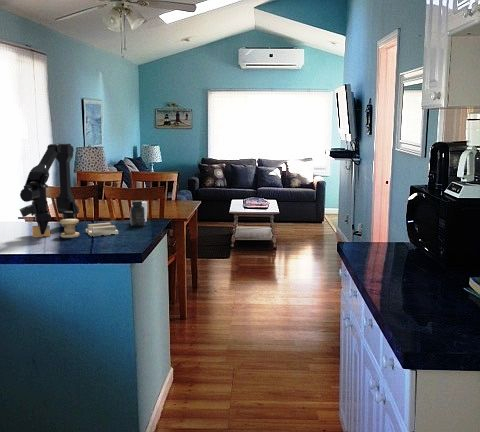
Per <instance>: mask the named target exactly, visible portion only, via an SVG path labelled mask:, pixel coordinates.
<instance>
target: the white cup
mask: <svg viewBox="0 0 480 432" xmlns="http://www.w3.org/2000/svg"><path fill="white" fill-rule="evenodd" d="M141 201H142V206H143V207H144V211H145V223H146V222H147V220H148V219H147V218H148V201H146V200H141ZM132 206H133V205H132V201H131V207H132Z"/></svg>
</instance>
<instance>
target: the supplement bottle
mask: <svg viewBox="0 0 480 432" xmlns="http://www.w3.org/2000/svg"><path fill="white" fill-rule="evenodd" d="M142 201H143V200H132V201H131V202H132V204H131V207H130V209H129V213H130V216H129V217H130V226H132V227H143V226H145V225H146V222H145V211H144V207H143V206H142ZM132 205H133V206H132Z"/></svg>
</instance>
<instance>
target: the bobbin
mask: <svg viewBox="0 0 480 432" xmlns="http://www.w3.org/2000/svg"><path fill="white" fill-rule="evenodd" d="M79 222H80V220H79V219H78V218H75V219H64V220H63V219H60V220H59V224H60V225H62V224H64V227H63V228H64V229H63V230H64V232H61V233H60V237H61V238H63V239H68V238H69V239H71V238H78V237H79V236H80V232H79V231H78V232H77V231H76V226H75V224H79Z"/></svg>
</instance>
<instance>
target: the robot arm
mask: <svg viewBox="0 0 480 432" xmlns="http://www.w3.org/2000/svg"><path fill="white" fill-rule="evenodd" d="M73 157H74V146H72V145H71V143H50V144H48V145H47V147H46V151H45V153H44V154H43V156H42V158H41V159H40V161H39V163H38V164H37V165H35V166H33V167H32V168H31V170H30V171H29V173H28V175H27V178H26V180H25V184H24V185H23V189H21V191H20V193H19V196H20V199H21V200H22V201H24V202H26V203H27V202H31V204H29V205H25V206H24V207H22V208H19V212H20V214H21V216H22V218H26V217H27V216H28V215H31V217H32V219H34V221H35V222H36V223H37V226H39V227H40V231H41V234H44V233H45V230H46V227H47V225H49V222H50V221H51V220H52V215H51V213H49V210H48V198H47V197H48V196H47V188H48V187H49V185H48V184H47V182H48V181H49V178H50V172H49V171H50V169H51V167H52V165H53V163H54V161H55V160H56V161H57V162H58V172H59V175H58V176H59V195H58V196H56V197H55V199H56V200H55V201H56V210H57V214H58V215H60V214H61V215H62V220H64V219H76V215H78V214H79V213H80V207H79V206H78V204H77V203H76V199H75V198H76V197H74V195H73V193H72V190H71V189H72V188H71V186H72V184H71V182H72V181H71V161H72V159H73ZM61 226H62V227H63V228H64V224H61ZM75 227H78V224H77V223H75Z"/></svg>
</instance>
